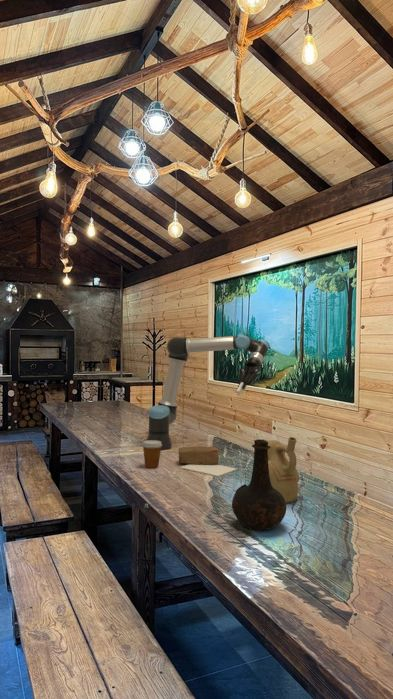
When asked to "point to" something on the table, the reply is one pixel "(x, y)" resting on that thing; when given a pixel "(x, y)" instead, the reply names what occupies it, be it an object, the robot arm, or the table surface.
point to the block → (199, 455)
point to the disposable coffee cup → (152, 453)
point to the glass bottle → (259, 495)
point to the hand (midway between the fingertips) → (238, 392)
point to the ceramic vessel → (283, 469)
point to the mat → (210, 469)
